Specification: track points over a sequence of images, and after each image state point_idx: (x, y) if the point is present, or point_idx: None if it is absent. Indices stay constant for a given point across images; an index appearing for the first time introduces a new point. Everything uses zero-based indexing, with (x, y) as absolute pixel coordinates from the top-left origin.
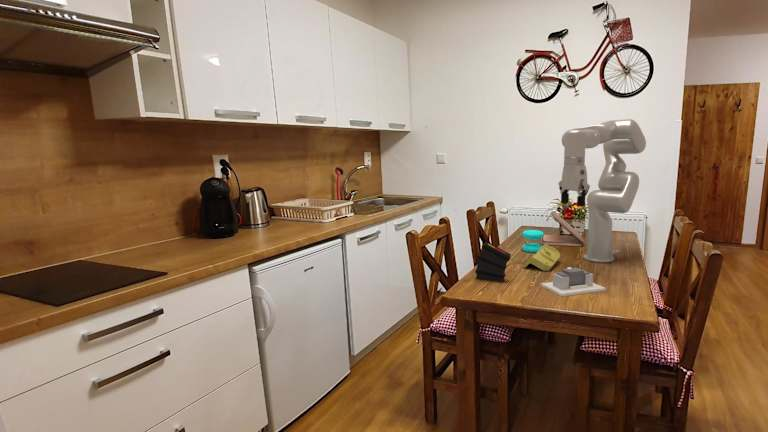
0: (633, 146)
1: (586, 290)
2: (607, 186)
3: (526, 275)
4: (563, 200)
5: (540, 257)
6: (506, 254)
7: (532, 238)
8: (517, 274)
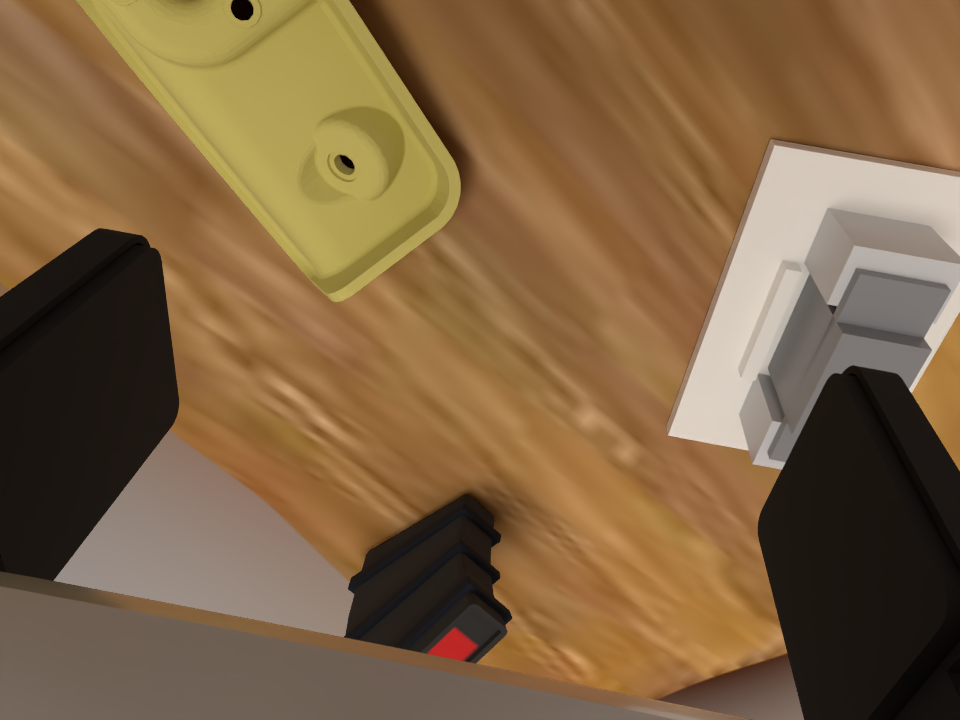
0: None
1: (946, 331)
2: None
3: (463, 359)
4: (142, 437)
5: (250, 109)
6: (487, 647)
7: None
8: (421, 386)
